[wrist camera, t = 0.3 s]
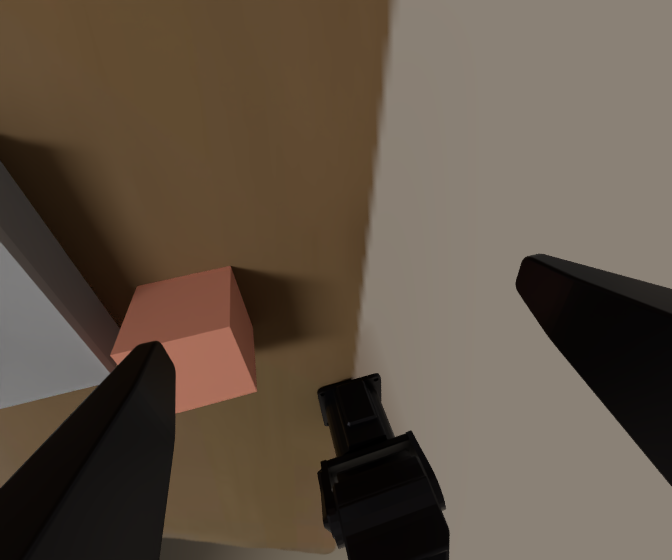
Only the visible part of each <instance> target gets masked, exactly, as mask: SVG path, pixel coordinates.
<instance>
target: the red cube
mask: <svg viewBox="0 0 672 560" xmlns="http://www.w3.org/2000/svg"><path fill="white" fill-rule="evenodd" d="M151 341H159V342H160V343H161V344H162V345H163V347H164V348H165V350H166V352H167V353H168V355H169V357H170V359H171V360H172V362H173V364H174V366H175V370H176V408H175V414H176V413H179V412H183V411H187V410H191V409H194V408H198V407H202V406H205V405H209V404H213V403H217V402H220V401H224V400H228V399H231V398H235V397H239V396H242V395H246V394H250V393H254V392H257V382H256V367H255V351H254V336H253V327H252V324H251V321H250V318H249V316H248V313H247V310H246V307H245V304H244V302H243V299H242V296H241V293H240V291H239V288H238V285H237V282H236V280H235V277H234V274H233V271H232V268H231V266H228V267H223V268H218V269H214V270H209V271H204V272H200V273H195V274H190V275H186V276H181V277H176V278H172V279H167V280H163V281H158V282H153V283H149V284H144V285H139V286H137V287H136V290H135V293H134V295H133V298H132V300H131V303H130V305H129V308H128V311H127V313H126V316H125V318H124V321H123V323H122V326H121V329H120V331H119V334H118V336H117V339H116V341H115V344H114V347H113V349H112V352H111V354H110V356H111V357H112V358H113V360H114V361H115V362H116V363H117V365H119V363H120V362H121V361H122V360H123V359H124V358H125V357H126V356H127V355H128V354H129V353H130V352H131V351H132V350H133V349H134V348H135V347H136V346H137V345H139V344H142V343H147V342H151Z"/></svg>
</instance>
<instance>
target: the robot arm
mask: <svg viewBox="0 0 672 560" xmlns="http://www.w3.org/2000/svg"><path fill="white" fill-rule="evenodd" d="M516 289H517V291H518V293H519V294H520V295H521V297H522V299H523V300H524V302H525V303H526V305H527V306H528V308H529V309H530V311H531V312H532V314H533V315H534V317H535V318H536V319H537V321H538V322H539V324H540V326H541V327H542V328H543V330H544V331H545V333H546V334H547V335H548V337H549V338H550V340H551V341H552V342H553V343H554V345H555V346H556V347H557V348H558V350H559V351H560V352H561V353H562V354H563V356H564V357H565V358H566V359H567V360H568V362H569V363H570V364H571V365H572V366H573V368H574V369H575V370H576V371H577V373H578V374H579V375H580V376H581V377H582V379H583V380H584V381H585V382H586V383H587V385H588V386H589V387H590V388H591V390H592V391H593V392H594V393H595V394H596V396H597V397H598V398H599V399H600V400H601V402H602V403H603V404H604V405H605V406H606V408H607V409H608V410H609V411H610V412H611V414H612V415H613V416H614V417H615V419H616V420H617V421H618V422H619V423H620V425H621V426H622V427H623V428H624V429H625V430H626V432H627V433H628V434H629V436H630V437H631V438H632V439H633V440H634V442H635V443H636V444H637V445H638V446H639V448H640V449H641V450H642V451H643V452H644V454H645V455H646V456H647V457H648V458H649V460H650V461H651V462H652V463H653V465H654V466H655V467H656V468H657V469H658V471H659V472H660V473H661V474H662V475H663V477H664V478H665V479H666V480H667V481H668V483H669V484H670V485H671V486H672V289H670V288H666V287H662V286H659V285H655V284H652V283H647V282H644V281H641V280H637V279H633V278H629V277H625V276H622V275H618V274H615V273H611V272H607V271H603V270H600V269H596V268H593V267H589V266H585V265H582V264H578V263H574V262H571V261H567V260H563V259H559V258H555V257H552V256H549V255H545V254H536V255H531V256H527V257H525V258H524V259H523V260H522V263H521V266H520V269H519V273H518V276H517V279H516ZM317 394H318V399H319V403H320V407H321V412H322V416H323V421H324V425H325V426H329V428H330V432H331V436H332V440H333V444H334V449H335V453H336V458H333V459H330V460H324V461H321V470H320V471H319V472H318V473H317V474H318V480H319V485H320V491H321V501H322V515H323V524H324V527H325V529H327V530H328V531H330V532H331V533H332V536H333V538H334V539H335V540H336V543H337V546H338V548H339V549H341V548H343V547H346V551H347V556H348V560H449V536H450V535H449V528H448V525H447V523H446V521H445V518H444V515H443V513H442V511H443V510H445V509H446V506H445V501H444V498H443V494H442V492H441V489H440V486H439V483H438V481H437V479H436V476H435V474H434V472H433V470H432V468H431V466H430V464H429V462H428V460H427V459H426V457H425V455H424V453H423V451H422V449H421V448H420V446H419V444H418V442H417V440H416V438H415V436H414V435H413V433H412V431H408V432H406V434H403V435H400V436H397V437H395V436H394V433H393V431H392V428H391V426H390V423H389V421H388V419H387V416H386V414H385V411H384V408H383V406H382V404H381V377H380V375H379V374H378V373H375V374H371V375H368V376H364V377H361V378H357V379H353V380H349V381H346V382H342V383H339V384H335V385H331V386H328V387H324V388H321V389H319V390H318V391H317ZM175 408H176V370H175V366H174V364H173V362H172V360H171V359H170V357H169V355H168V353H167V352H166V350H165V348H164V347H163V345H162V344H161V343H160V342H159V341H151V342H147V343H142V344H139V345H137V346H136V347H135V348H134V349H133V350H132V351H131V352H130V353H129V354H128V355H127V356H126V357H125V358H124V359H123V360H122V361H121V362H120V363H119V365H118V366H117V367H116V368H115V369H114V370H113V371H112V372H111V373H110V374H109V375H108V376H107V377H106V378H105V379H104V380H103V381H102V382H101V383H100V384H99V385H98V387H97V388H96V389H95V390H94V391H93V392H92V393H91V394H90V395H89V396H88V397H87V398H86V399H85V400H84V401H83V402H82V403H81V404H80V405H79V406H78V407H77V409H76V410H75V411H74V412H73V413H72V414H71V415H70V416H69V417H68V418H67V419H66V420H65V421H64V422H63V423H62V424H61V425H60V426H59V427H58V428H57V429H56V430H55V432H54V433H53V434H52V435H51V436H50V437H49V438H48V439H47V440H46V441H45V442H44V443H43V444H42V445H41V446H40V447H39V448H38V449H37V450H36V451H35V452H34V454H33V455H32V456H31V457H30V458H29V459H28V460H27V461H26V462H25V463H24V464H23V465H22V466H21V467H20V468H19V469H18V470H17V471H16V472H15V473H14V474H13V476H12V477H11V478H10V479H9V480H8V481H7V482H6V483H5V484H4V485H3V486H2V487H1V488H0V560H159V557H160V550H161V542H162V534H163V527H164V519H165V512H166V504H167V497H168V489H169V481H170V474H171V466H172V459H173V451H174V442H175Z"/></svg>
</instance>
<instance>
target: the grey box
mask: <svg viewBox="0 0 672 560" xmlns="http://www.w3.org/2000/svg"><path fill="white" fill-rule="evenodd" d="M119 331H120V328H119V327H118V326H117V324H116V323H115V321H114V320H113V318H112V317H111V316H110V314H109V313H108V311H107V310H106V309H105V307H104V306H103V304H102V303H101V302H100V300H99V299H98V297H97V296H96V295H95V293H94V292H93V290H92V289H91V288H90V286H89V285H88V283H87V282H86V281H85V279H84V278H83V276H82V275H81V273H80V272H79V271H78V269H77V268H76V266H75V265H74V264H73V262H72V261H71V259H70V258H69V257H68V255H67V254H66V252H65V251H64V250H63V248H62V247H61V245H60V244H59V243H58V241H57V240H56V238H55V237H54V236H53V234H52V233H51V231H50V230H49V228H48V227H47V226H46V224H45V223H44V221H43V220H42V219H41V217H40V216H39V214H38V213H37V212H36V210H35V209H34V207H33V206H32V205H31V203H30V202H29V200H28V199H27V198H26V196H25V195H24V193H23V192H22V191H21V189H20V188H19V186H18V185H17V183H16V182H15V181H14V179H13V178H12V176H11V175H10V174H9V172H8V171H7V169H6V168H5V167H4V165H3V164H2V162H1V161H0V409H2V408H6V407H10V406H14V405H18V404H22V403H26V402H30V401H34V400H38V399H42V398H47V397H51V396H55V395H59V394H63V393H67V392H71V391H75V390H79V389H83V388H87V387H91V386H95V385H99V384H100V383H101V382H102V381H103V380H104V379H105V378H106V377H107V376H108V375H109V374H110V373H111V372H112V371H113V370H114V369H115V367H116V365H117V363H116V362H115V361H114V360H113V358H112V357H111V356H110V354H111V352H112V349H113V347H114V344H115V341H116V339H117V336H118V334H119Z"/></svg>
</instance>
